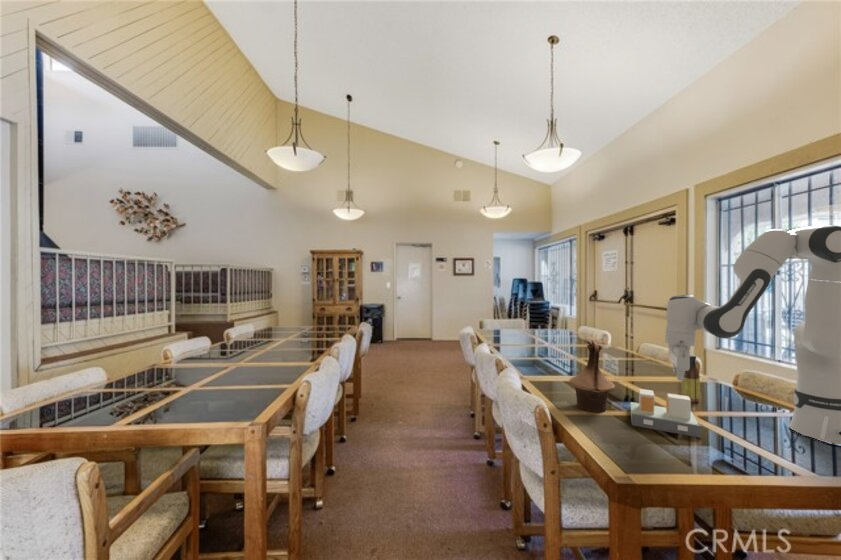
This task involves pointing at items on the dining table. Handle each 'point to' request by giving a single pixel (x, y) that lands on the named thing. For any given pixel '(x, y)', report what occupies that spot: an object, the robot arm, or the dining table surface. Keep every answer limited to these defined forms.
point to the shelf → (664, 421)
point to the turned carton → (678, 406)
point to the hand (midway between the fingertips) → (678, 376)
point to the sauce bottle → (691, 381)
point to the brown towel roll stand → (592, 382)
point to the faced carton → (646, 401)
